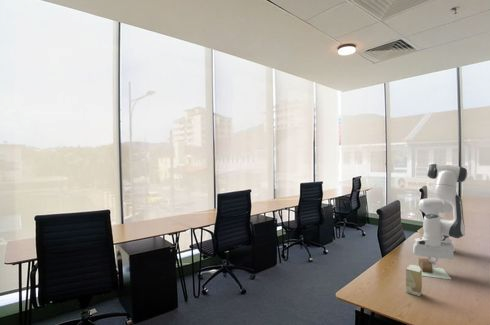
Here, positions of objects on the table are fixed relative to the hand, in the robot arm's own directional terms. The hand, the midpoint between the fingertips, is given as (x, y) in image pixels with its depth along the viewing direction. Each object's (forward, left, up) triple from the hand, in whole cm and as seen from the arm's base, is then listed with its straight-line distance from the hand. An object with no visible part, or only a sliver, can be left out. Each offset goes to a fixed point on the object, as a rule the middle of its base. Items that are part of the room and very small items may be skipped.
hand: (433, 264), depth 158 cm
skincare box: (+36, -16, -4) cm, 39 cm away
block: (-6, -4, -1) cm, 7 cm away
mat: (+3, -3, -4) cm, 6 cm away
